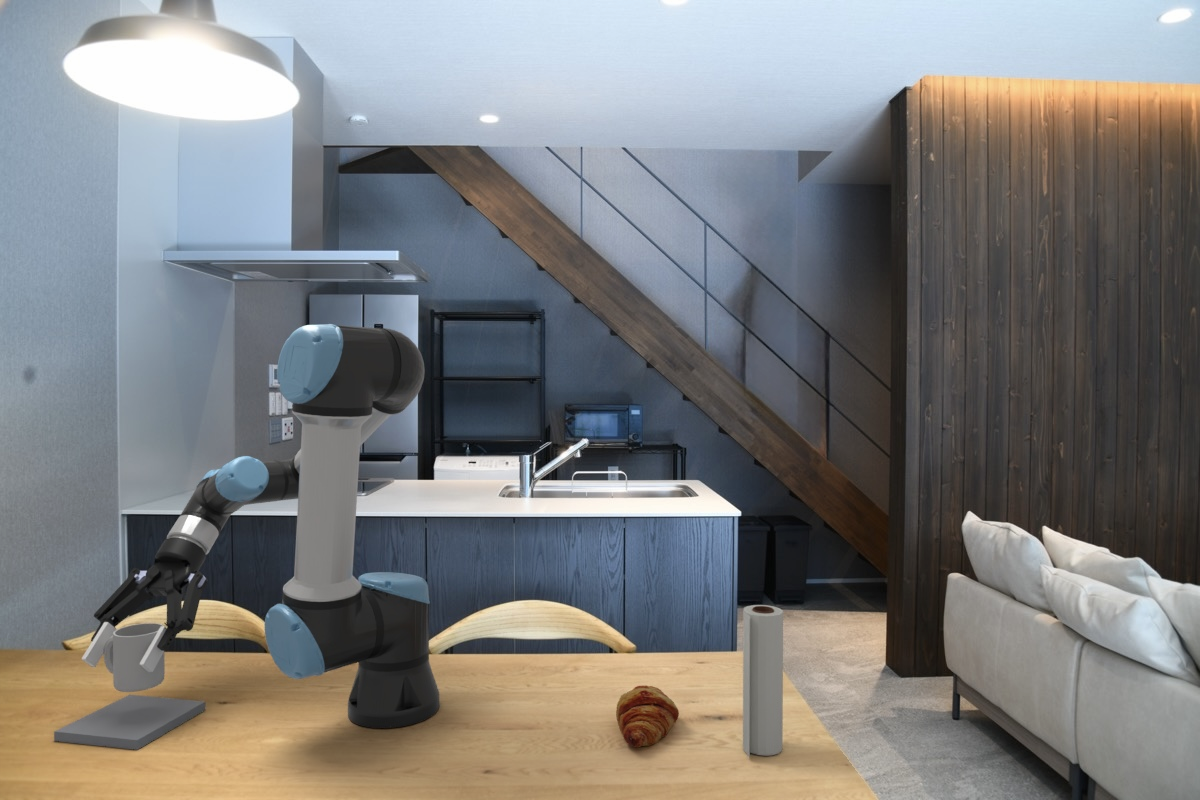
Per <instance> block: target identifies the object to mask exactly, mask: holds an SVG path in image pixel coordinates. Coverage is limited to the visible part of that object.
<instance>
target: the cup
mask: <svg viewBox="0 0 1200 800" xmlns="http://www.w3.org/2000/svg"><path fill="white" fill-rule="evenodd" d="M161 626H164V627H165V624H164V625H163V624H161V623H156V622H144V623H137V624H136V623H135V624H130V625H127V626H122V627H120V628H118V629H117V628H116V629H117V630H115V631H114V632H113V635H112V636H111V637H110V638H109V639H108V640H107V642H106V644H105V647H104V653H103V659H104V664H105V665H104V666H105V668H106V669H107V671H109V673H110V674H112V676H113V677H112V679H113V688H114V689H115V690H116V691H118V692H123V693H135V692H140V691H146V690H149V689H153V688H155V687H158V686H159V685H160V684H162V683H163V681H164V680H165V672H166V669H165V666H166V665H165V661H166V660H165V651H164V652H163V654H162V656H161V658H160V660H159V662H158V663H157V665H156V667H155V669H154V671H153V672H148V671H147V670H146V669H144V668H143V667H142V666H141V665H140V662H141V660H142V658H143V657H144V655H145V653H146V651H147V650H148V648H149V646H150V644H151V642H152V641H153V639H154V637H155V635H156V634H157V632H158V630H159V628H160V627H161Z"/></svg>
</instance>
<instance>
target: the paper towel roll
mask: <svg viewBox="0 0 1200 800" xmlns="http://www.w3.org/2000/svg"><path fill="white" fill-rule="evenodd" d="M742 612H743V613H742V614H743V615H742V616H743V617H742V619H743V622H742V623H743V624H742V627H743V629H742V632H743V633H742V634H743V636H742V641H743V645H742V651H743V652H742V661H743V662H742V675H743V676H742V749H743V751H744V752H745V754H746V755H747V756H748V760H750V759H751V758H750V757H751V755H750V754H753V755H757V756H774V755H778V754H780V753H781V752H782V751H783V737H784V736H783V734H784V733H783V725H784V722H783V719H784V718H783V717H784V715H783V713H784V712H783V711H784V710H783V709H784V708H783V701H784V700H783V699H784V698H783V697H784V696H783V695H784V694H783V693H784V690H783V689H784V680H783V679H784V610H783V609H781V607H780V608H779V607H777V606H773V605H766V604H753V605H747V606H744V607H743V611H742Z"/></svg>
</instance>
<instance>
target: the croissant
mask: <svg viewBox="0 0 1200 800" xmlns="http://www.w3.org/2000/svg"><path fill="white" fill-rule="evenodd" d="M615 710H616V711H615V714H616V720H617V725H618V727H619V732H621V735H622V737H623V741H625V742H626V744H627V745H629V746H631V747H633V748H641V747H643V746H645V747H647V746H648V747H649V746H652V745H655V744H657V743H658V742H659V741H660V739H662V738H665V737H666V736H667V734H668V733H669V732H670V730H671V728H673V727H674V725H675V724H676V723H677V721H678V720H679V715H680V713H679V708H678V706H677V705H676V704H675V703H674V701H673V699H672V698H669V696H668V695H667V694H665V693H664V692H663V691H662V690H661V689H659V688H658V687H656V686H653V685H637V686H634V688H633V689H632V690H630V691H627V692H626V693H622V694H621V695H620V697H619V700H618V702H617V704H616V709H615Z"/></svg>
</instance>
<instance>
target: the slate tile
mask: <svg viewBox="0 0 1200 800" xmlns="http://www.w3.org/2000/svg"><path fill="white" fill-rule="evenodd" d="M206 708H207V707H206V701H203V700H192V699H183V698H171V697H161V696H160V697H159V696H158V697H157V696H151V695H149V696H148V695H137V694H128V695H126V696H124V697H122V698H120V699H118V700H115V701H114V702H112V703H110V704H108V705H106V706H103V707H101V708H99V709H97V710H96V711H93V712H91V713H89V714H87V715H85V716H83V717H80V718H79V719H77V720H75V721H72V722H71V723H68V724H67V725H64V726H62V727H60V728H59V729H57V730H55V731H53V740H54V742H58V741H59V742H61V743H68V744H69V743H70V744H79V745H87V746H95V747H96V746H97V747H105V746H106V748H115V749H124V750H125V749H126V750H133V749H134V750H136V751H138V750H140V749H142V748H143V747H145V746H147V745H148V743H149V744H150V743H151V741H152V742H154V741H156V740H157V739H159V738H161V737H163V736H164V735H166V734H167V733H169V732H170V730H171V731H172V730H174V729H176V728H178V727H180V726H181V725H182V723H183V724H185V723H186V722H188V721H189V719H190V720H191V719H193V718H195V717H196V716H198V715H200V714H202V713H203V712H205V711H206ZM204 710H205V711H204ZM202 711H203V712H202ZM201 712H202V713H201ZM199 713H200V714H199ZM197 714H198V715H197ZM194 716H195V717H194ZM192 717H193V718H192ZM187 720H188V721H187ZM177 726H178V727H177ZM175 727H176V728H175ZM168 731H169V732H168ZM165 733H166V734H165ZM158 737H159V738H158ZM156 738H157V739H156ZM153 740H154V741H153ZM146 744H147V745H146ZM141 747H142V748H141Z"/></svg>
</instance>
